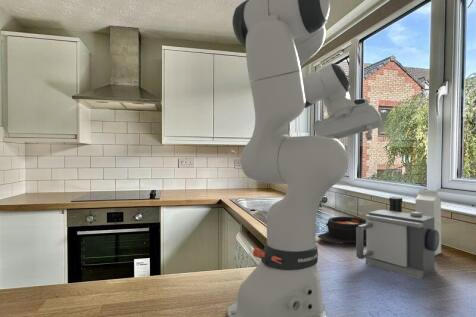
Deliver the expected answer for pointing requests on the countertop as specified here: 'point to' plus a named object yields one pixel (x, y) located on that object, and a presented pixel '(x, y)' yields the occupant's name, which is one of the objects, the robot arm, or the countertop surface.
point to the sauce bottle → (395, 204)
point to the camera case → (411, 242)
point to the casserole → (343, 230)
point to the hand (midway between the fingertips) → (353, 143)
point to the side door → (383, 242)
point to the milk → (430, 209)
